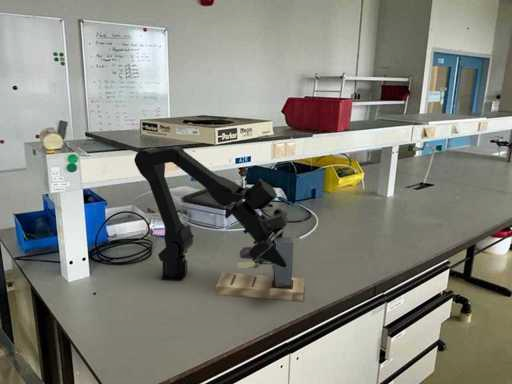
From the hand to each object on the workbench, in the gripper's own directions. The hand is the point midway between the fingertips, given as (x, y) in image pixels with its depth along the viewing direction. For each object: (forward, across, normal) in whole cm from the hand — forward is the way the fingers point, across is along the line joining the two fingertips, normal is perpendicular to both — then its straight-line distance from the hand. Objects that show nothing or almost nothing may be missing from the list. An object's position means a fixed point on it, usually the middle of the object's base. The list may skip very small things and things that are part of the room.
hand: (287, 262), depth 118 cm
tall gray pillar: (+4, 0, +6) cm, 7 cm away
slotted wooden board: (+2, -1, +12) cm, 12 cm away
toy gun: (-1, +20, +15) cm, 25 cm away
